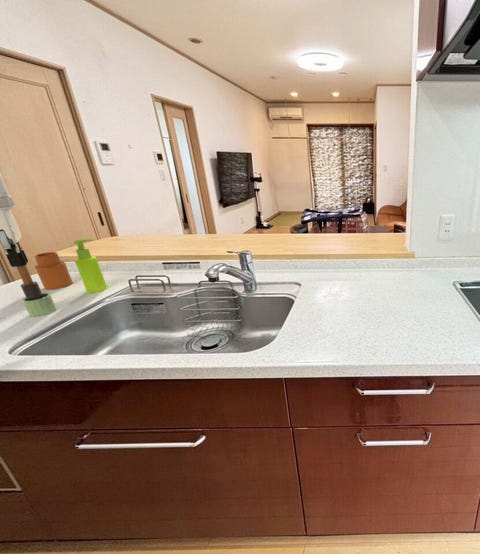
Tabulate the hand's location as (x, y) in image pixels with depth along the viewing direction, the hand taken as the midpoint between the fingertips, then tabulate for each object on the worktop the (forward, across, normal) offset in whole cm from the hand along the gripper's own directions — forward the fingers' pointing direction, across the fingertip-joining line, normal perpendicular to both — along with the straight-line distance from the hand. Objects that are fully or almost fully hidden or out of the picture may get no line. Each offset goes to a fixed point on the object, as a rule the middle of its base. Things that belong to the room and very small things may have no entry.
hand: (20, 264), depth 90 cm
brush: (+13, 0, 0) cm, 13 cm away
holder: (+17, 0, 0) cm, 17 cm away
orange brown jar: (+17, -28, +2) cm, 33 cm away
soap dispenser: (+17, -12, +14) cm, 25 cm away
